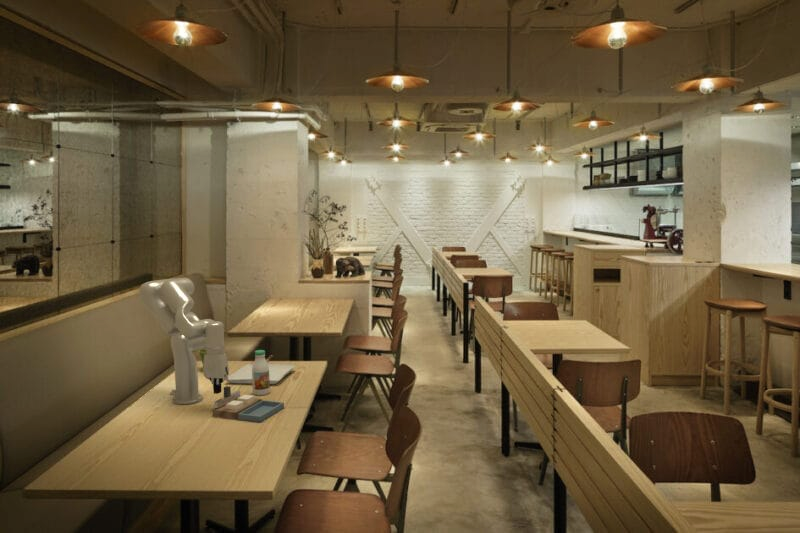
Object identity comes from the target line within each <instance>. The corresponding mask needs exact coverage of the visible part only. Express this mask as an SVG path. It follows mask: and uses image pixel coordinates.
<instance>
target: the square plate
mask: <svg viewBox="0 0 800 533" xmlns="http://www.w3.org/2000/svg"><path fill="white" fill-rule="evenodd" d="M267 364H268V367H269V379H270V385H275V384H278V383H279V382H280V381H281V380H282V379H283V378H285V376H287V375H288V374H289V373H290V372H292V370H294V368H296V365H294V364H282V363H281V364H280V363H278V364H277V363H275V364H274V363H267ZM252 367H253V363H248V364H247V363H246V364H244V366H241V367H240V368H239V369H237V370H236V371H235V372H233V373H232V374H230V375H228V380H225V382H228V383H230V384H242V385H243V384H246V385H253V384H252Z"/></svg>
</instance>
